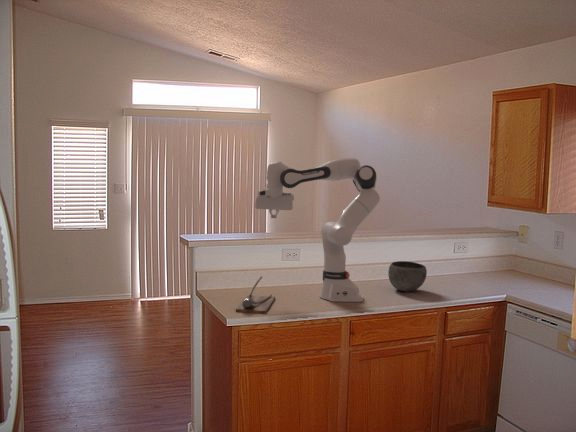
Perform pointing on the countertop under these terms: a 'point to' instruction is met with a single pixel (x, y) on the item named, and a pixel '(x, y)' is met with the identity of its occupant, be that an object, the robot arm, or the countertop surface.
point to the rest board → (257, 305)
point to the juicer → (249, 300)
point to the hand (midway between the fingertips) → (273, 218)
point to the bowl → (407, 275)
